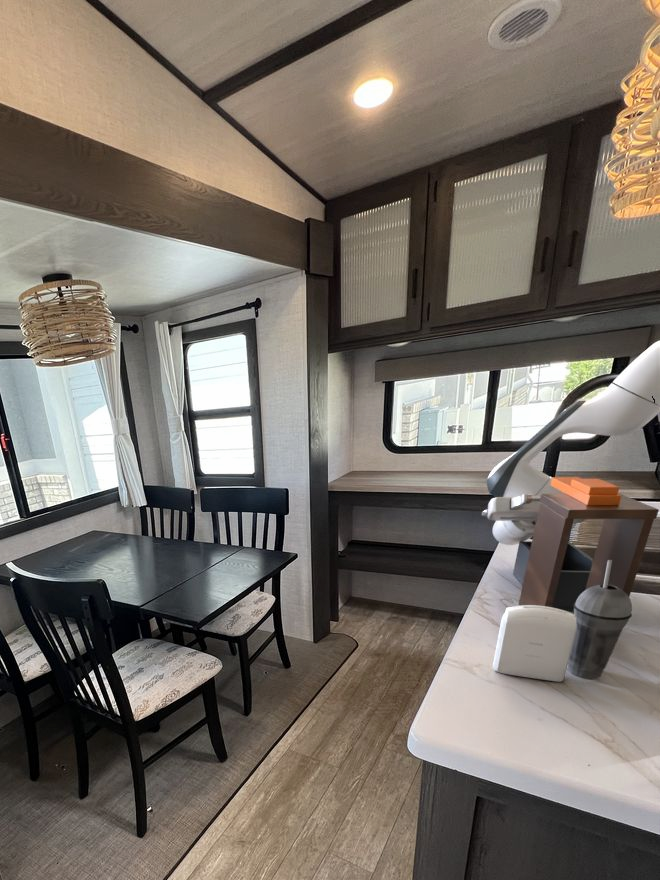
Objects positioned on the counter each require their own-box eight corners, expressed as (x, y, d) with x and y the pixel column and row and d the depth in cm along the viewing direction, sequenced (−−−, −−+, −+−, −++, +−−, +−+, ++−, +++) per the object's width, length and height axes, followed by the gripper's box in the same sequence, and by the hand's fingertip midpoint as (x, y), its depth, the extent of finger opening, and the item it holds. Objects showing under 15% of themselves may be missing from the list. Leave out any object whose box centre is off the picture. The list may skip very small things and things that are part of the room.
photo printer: (492, 673, 80) (505, 608, 75) (491, 661, 83) (504, 598, 78) (565, 685, 75) (585, 617, 70) (561, 672, 79) (579, 606, 74)
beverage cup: (623, 680, 76) (662, 563, 68) (584, 686, 75) (619, 569, 67) (583, 657, 82) (614, 549, 74) (546, 663, 81) (574, 555, 74)
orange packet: (549, 485, 93) (553, 471, 92) (575, 485, 92) (579, 470, 91) (587, 505, 77) (591, 488, 76) (619, 505, 76) (624, 488, 75)
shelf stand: (581, 621, 94) (617, 492, 84) (613, 654, 83) (659, 509, 72) (514, 618, 98) (541, 493, 87) (535, 648, 86) (569, 509, 76)
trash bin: (561, 575, 116) (569, 541, 113) (601, 612, 97) (612, 573, 94) (512, 574, 119) (519, 541, 116) (542, 609, 100) (551, 571, 97)
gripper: (479, 503, 112) (497, 483, 99) (580, 502, 106) (613, 481, 93) (478, 528, 111) (496, 512, 98) (579, 529, 106) (613, 511, 92)
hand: (554, 497), depth 95 cm, fingers open, 8 cm apart
